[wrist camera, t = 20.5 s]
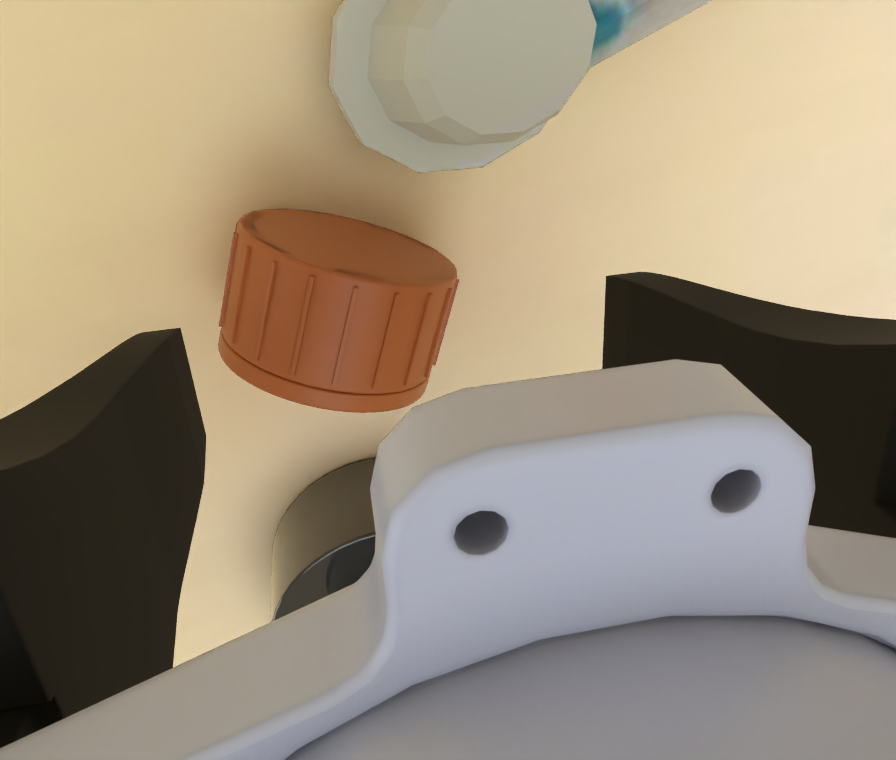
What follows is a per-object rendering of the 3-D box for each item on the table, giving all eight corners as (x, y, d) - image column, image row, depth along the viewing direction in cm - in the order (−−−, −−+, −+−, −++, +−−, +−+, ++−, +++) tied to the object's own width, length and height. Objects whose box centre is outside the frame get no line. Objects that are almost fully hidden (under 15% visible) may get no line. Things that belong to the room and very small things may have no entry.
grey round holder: (229, 586, 28) (212, 759, 22) (354, 417, 26) (375, 557, 19) (411, 658, 31) (442, 827, 25) (537, 514, 29) (604, 660, 23)
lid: (503, 279, 21) (468, 393, 22) (355, 209, 24) (332, 312, 25) (346, 293, 16) (315, 433, 18) (188, 204, 19) (171, 329, 21)
